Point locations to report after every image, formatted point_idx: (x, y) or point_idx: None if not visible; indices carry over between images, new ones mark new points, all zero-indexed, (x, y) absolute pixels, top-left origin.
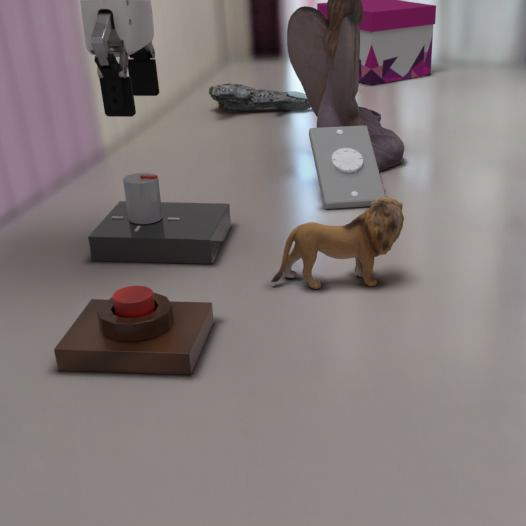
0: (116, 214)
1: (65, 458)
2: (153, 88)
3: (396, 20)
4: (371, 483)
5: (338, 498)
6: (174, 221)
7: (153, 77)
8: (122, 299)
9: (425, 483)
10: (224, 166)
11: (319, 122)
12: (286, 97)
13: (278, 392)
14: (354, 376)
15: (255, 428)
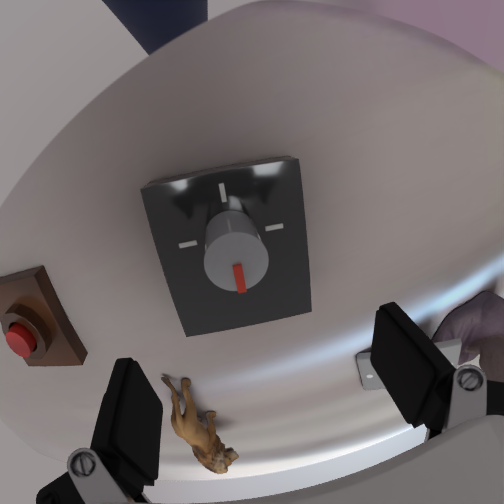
0: (238, 182)
1: None
2: (378, 367)
3: None
4: (36, 418)
5: (23, 410)
6: None
7: (389, 392)
8: (8, 341)
9: (48, 430)
10: (474, 209)
11: (498, 311)
12: None
13: (52, 393)
14: (86, 418)
15: (27, 387)
